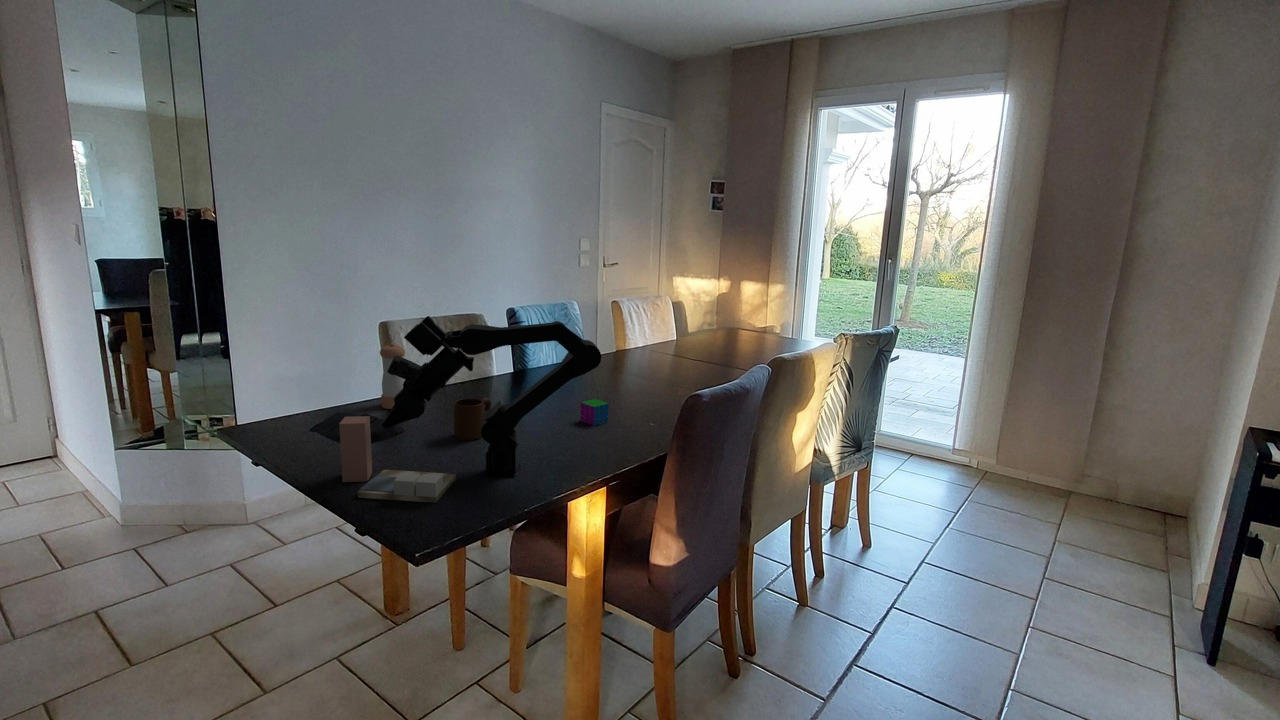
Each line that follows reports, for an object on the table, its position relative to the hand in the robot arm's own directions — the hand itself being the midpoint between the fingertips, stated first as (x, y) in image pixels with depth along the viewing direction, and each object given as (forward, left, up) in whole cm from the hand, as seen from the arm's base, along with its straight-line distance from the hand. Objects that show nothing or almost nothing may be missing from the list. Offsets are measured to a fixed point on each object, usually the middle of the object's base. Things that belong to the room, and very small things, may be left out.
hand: (387, 420), depth 135 cm
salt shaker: (+21, -51, -13) cm, 57 cm away
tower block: (+6, +2, -13) cm, 14 cm away
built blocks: (-10, +10, -12) cm, 18 cm away
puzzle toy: (-40, -47, -13) cm, 63 cm away
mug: (-10, -30, -13) cm, 34 cm away
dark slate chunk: (+21, -27, -13) cm, 37 cm away
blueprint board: (-7, +6, -13) cm, 16 cm away
